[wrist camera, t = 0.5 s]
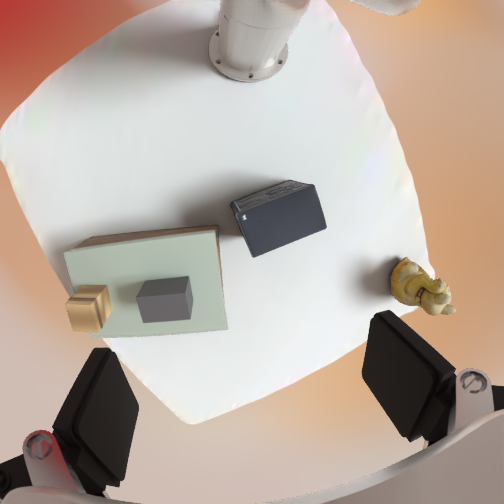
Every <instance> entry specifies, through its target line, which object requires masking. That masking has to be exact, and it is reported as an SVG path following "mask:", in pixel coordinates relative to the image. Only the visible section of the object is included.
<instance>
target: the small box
mask: <svg viewBox="0 0 504 504" xmlns="http://www.w3.org/2000/svg"><path fill="white" fill-rule="evenodd" d="M230 206H231V208H232V209H233V212H234V215H235V217H236V220H237V222H238V225H239V228H240V230H241V232H242V234H243V237H244V239H245V241H246V244H247V246H248V248H249V250H250V253H251V255H252V257H253V258H254V257H257V256H259V255H262V254H264V253H267V252H269V251H272V250H274V249H277V248H279V247H281V246H284V245H286V244H289V243H291V242H294V241H296V240H299V239H301V238H304V237H306V236H309V235H311V234H314V233H316V232H319V231H322V230H324V229H326V228H327V226H326V222H325V218H324V215H323V211H322V208H321V204H320V201H319V198H318V195H317V191H316V188H315V186H314V185H313V184H305V183H301V182H297V181H293V180H289V181H286V182H283V183H280V184H278V185H275V186H271V187H269V188H267V189H264V190H261V191H258V192H255V193H253V194H250V195H248V196H245V197H243V198H240V199H238V200H235V201H233V202H231V203H230Z"/></svg>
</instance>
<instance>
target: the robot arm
mask: <svg viewBox="0 0 504 504" xmlns="http://www.w3.org/2000/svg"><path fill="white" fill-rule="evenodd" d="M349 1H351V2H354V3H356V4H359V5H361V6H364V7H366V8H368V9H371V10H374V11H376V12H379V13H382V14H386V15H393V16H395V15H402V14H405V13H407V12H409V11H411V10H412V9H414V8H415V7H416V6H417V5H418V4H419V2H421V0H349ZM309 2H310V0H221V2H220V23H219V28H218V29H217V30H216V31H215V32H214V34H213V35H212V37H211V39H210V42H209V56H210V59H211V61H212V63H213V65H214V66H215V67H216V68H217V70H219V71H220V72H221V73H222V74H224V75H226V76H227V77H229V78H232V79H235V80H238V81H243V82H255V81H261V80H265V79H268V78H270V77H272V76H274V75H275V74H276V73H278V72H279V71H280V69H281V68H282V67H283V66H284V64H285V62H286V60H287V57H288V45H287V41H288V39H289V37H290V36H291V34H292V33H293V31H294V29H295V28H296V26H297V25H298V23H299V22H300V20H301V19H302V17H303V15H304V14H305V12H306V11H307V9H308V6H309ZM218 62H219V63H220V64H217V63H218ZM278 63H280V64H278ZM249 76H251V78H249ZM455 370H456V368H455V367H454V366H452V365H451V364H450V363H449V362H448V361H447V360H446V359H445V358H444V357H443V356H442V355H440V354H439V353H438V352H437V351H436V350H435V349H434V348H433V347H432V346H431V345H429V344H428V343H427V342H426V341H425V340H424V339H423V338H422V337H420V336H419V335H418V334H417V333H416V332H415V331H414V330H413V329H411V328H410V327H409V326H408V325H407V324H406V323H404V322H403V321H402V320H401V319H400V318H399V317H398V316H396V315H395V314H394V313H393V312H392V311H390V310H387V311H383V312H379V313H376V314H375V315H374V318H372V319H371V321H370V327H369V334H368V340H367V346H366V352H365V357H364V363H363V368H362V377H363V379H364V381H365V383H366V384H367V385H368V387H369V388H370V390H371V391H372V393H373V394H374V396H375V397H376V399H377V400H378V402H379V403H380V405H381V406H382V407H383V409H384V411H385V412H386V414H387V415H388V416H389V418H390V419H391V421H392V422H393V424H394V425H395V427H396V428H397V430H398V431H399V433H400V434H401V436H402V437H406V438H407V439H408V441H409V442H412V441H414V440H415V439H418V438H419V437H421V436H423V438H424V439H425V441H424V447H423V450H422V451H419V452H418V453H416V454H414V455H412V456H410V457H408V458H406V459H404V460H402V461H400V462H398V463H395V464H393V465H391V466H389V467H387V468H384V469H382V470H380V471H377V472H375V473H372V474H370V475H367V476H365V477H362V478H359V479H356V480H354V481H351V482H348V483H345V484H342V485H339V486H335V487H332V488H329V489H325V490H322V491H318V492H315V493H311V494H306V495H302V496H298V497H293V498H288V499H283V500H278V501H271V502H264V503H257V504H504V386H494V385H491V382H490V379H489V377H488V376H487V375H486V374H485V373H484V372H483V371H481V370H478V369H474V368H467V369H464V370H462V371H460V372H459V373H458V375H457V376H456V375H455V374H454V372H455ZM138 412H139V405H138V402H137V400H136V398H135V396H134V394H133V391H132V389H131V387H130V385H129V383H128V381H127V379H126V377H125V374H124V372H123V370H122V367H121V365H120V362H119V360H118V358H117V355H116V353H115V352H112V351H111V349H110V348H94V349H93V351H92V352H91V354H90V356H89V357H88V359H87V361H86V363H85V364H84V366H83V368H82V370H81V372H80V373H79V375H78V377H77V379H76V380H75V382H74V384H73V386H72V388H71V390H70V392H69V394H68V396H67V398H66V400H65V402H64V403H63V406H62V407H61V409H60V411H59V414H58V415H57V418H56V420H55V422H54V424H53V426H52V428H53V429H54V431H53V433H50V432H49V431H46V430H38V431H34V432H33V433H31V434H29V435H28V437H26V439H25V441H24V443H23V454H22V455H20V456H17V457H15V458H13V459H11V460H8V461H6V462H3V463H1V464H0V504H139V503H132V502H125V501H118V500H113V499H110V497H109V496H108V494H107V493H106V491H105V489H106V485H109V486H115V487H119V486H120V481H123V480H124V478H125V473H126V468H127V462H128V457H129V452H130V447H131V442H132V438H133V434H134V429H135V425H136V420H137V416H138Z"/></svg>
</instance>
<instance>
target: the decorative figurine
mask: <svg viewBox="0 0 504 504" xmlns="http://www.w3.org/2000/svg"><path fill="white" fill-rule="evenodd" d="M390 276H391V293H392V295H393V296H394V297H395V299H397V300H398V301H399V302H400V303H403V304H405V305H408V306H420V307H422V308H423V309H424V310H425V311H426V312H427V313H428V314H430V315H439V314H445V315H448V314H452V313H454V312H455V311H456V308H454V307H453V306H451V305H449V303H450V301H451V292H450V290H449V286H448V285H446V283H445V282H444V280H443V279H440V278H439V279H436V280H433V279H432V278H430V276H429V275H428V274H427V273H426V272H425V271H424V270H423V269H422V268H421V267H420V266H419V265H417V264H416V263H415V262H411V261H410V259H408V258H407V257H405V258H404V259H402V260H401V261H400V262H399V263H398V264H397V266H396V267H395V269H394V270H393V272H392V273H391V274H390Z"/></svg>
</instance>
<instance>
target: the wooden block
mask: <svg viewBox="0 0 504 504" xmlns="http://www.w3.org/2000/svg"><path fill="white" fill-rule="evenodd" d="M65 305H66V309H67V312H68V316H69V319H70V322H71V325H72V329H73V331H79V332H89V333H99V331H100V330H101V329H102V328H103V325H104V323H105V322H106V320H107V319H108V317H109V315H110V314H111V312H112V311H113V310H112V306H111V301H110V296H109V291H108V286H107V285H83V286H82V287H81V288H80V289H79V290H78V291H77V292H76V293H75V294H74V295H73V296H72V297H70V298H69V300H68V301H67V302H66V303H65Z"/></svg>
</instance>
